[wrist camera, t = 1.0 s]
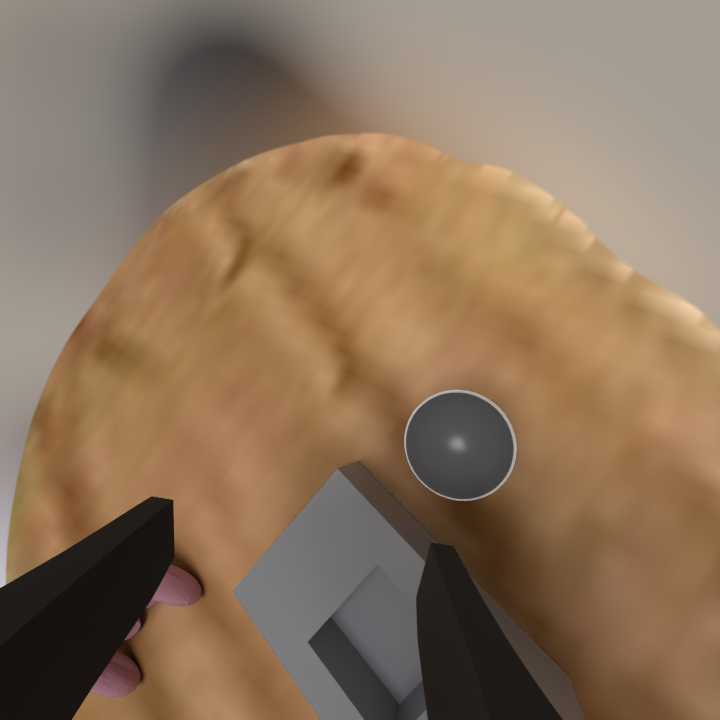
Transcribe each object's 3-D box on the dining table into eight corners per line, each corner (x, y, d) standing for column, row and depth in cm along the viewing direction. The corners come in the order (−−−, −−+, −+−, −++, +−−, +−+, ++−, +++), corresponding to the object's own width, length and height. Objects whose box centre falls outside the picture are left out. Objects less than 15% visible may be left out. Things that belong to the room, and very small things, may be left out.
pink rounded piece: (196, 544, 29) (101, 540, 24) (209, 594, 26) (101, 602, 21) (131, 637, 29) (24, 652, 25) (135, 699, 26) (13, 730, 21)
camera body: (569, 676, 19) (609, 786, 13) (446, 801, 20) (435, 954, 14) (358, 461, 24) (323, 473, 19) (268, 565, 25) (208, 608, 19)
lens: (519, 434, 21) (543, 442, 14) (468, 491, 22) (465, 528, 14) (457, 384, 23) (450, 367, 16) (411, 438, 23) (381, 446, 16)
